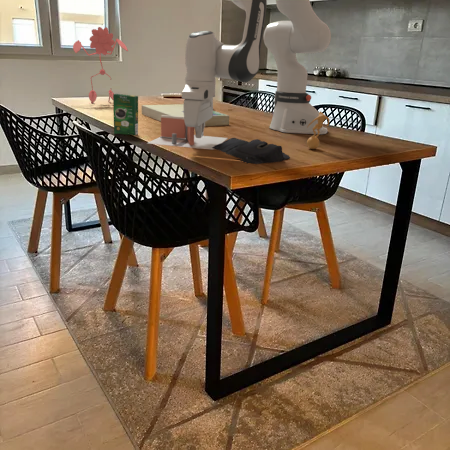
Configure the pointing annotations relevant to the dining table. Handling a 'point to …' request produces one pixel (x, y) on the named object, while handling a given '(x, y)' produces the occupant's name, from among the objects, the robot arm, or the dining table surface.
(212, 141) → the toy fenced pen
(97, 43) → the figurine
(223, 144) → the dark slate chunk
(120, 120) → the coffee box
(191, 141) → the fence panel
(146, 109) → the puzzle box
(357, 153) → the dining table surface
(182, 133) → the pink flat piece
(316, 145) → the figurine
